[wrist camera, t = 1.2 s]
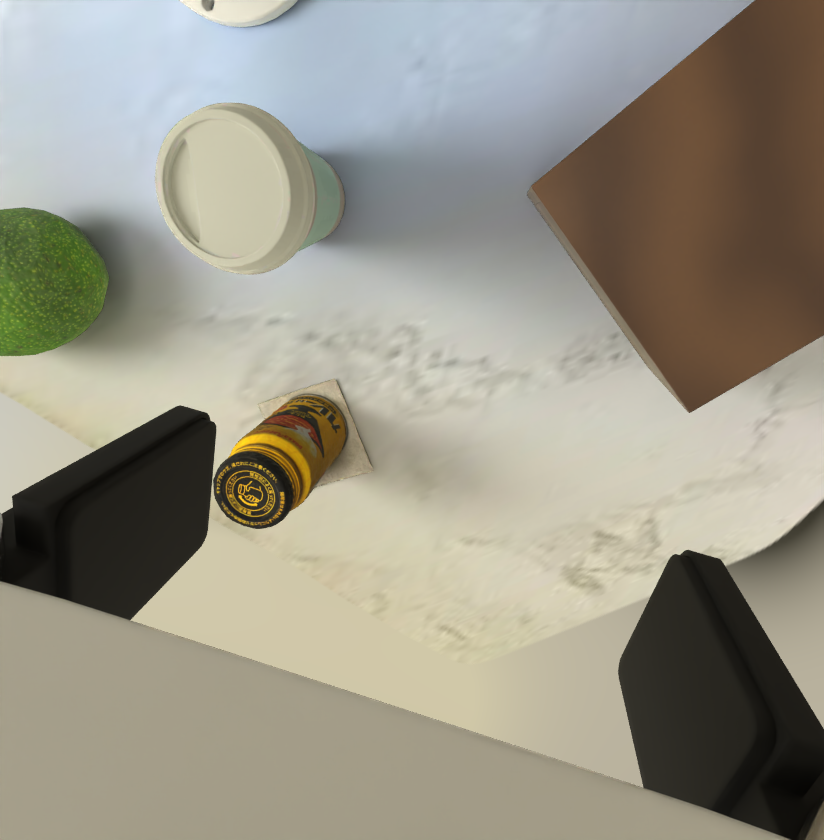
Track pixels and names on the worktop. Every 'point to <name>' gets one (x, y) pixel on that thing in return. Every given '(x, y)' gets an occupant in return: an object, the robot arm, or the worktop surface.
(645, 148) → the cabinet
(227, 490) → the condiment
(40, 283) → the fruit
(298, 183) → the coffee cup
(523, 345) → the worktop surface
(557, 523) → the worktop surface
